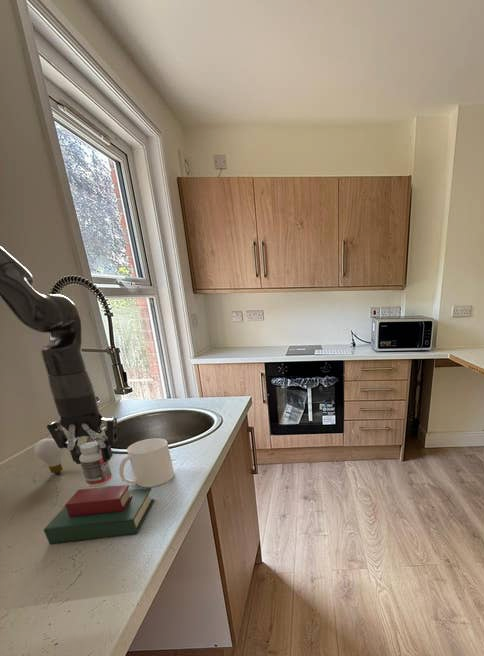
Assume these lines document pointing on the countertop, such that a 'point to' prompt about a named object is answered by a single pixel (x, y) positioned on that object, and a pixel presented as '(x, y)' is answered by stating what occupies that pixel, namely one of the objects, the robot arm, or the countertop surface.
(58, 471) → the light bulb
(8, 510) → the countertop surface
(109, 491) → the pocket book
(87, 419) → the robot arm
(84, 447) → the pill bottle
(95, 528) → the hardback
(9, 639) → the countertop surface
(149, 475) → the mug
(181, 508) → the countertop surface
